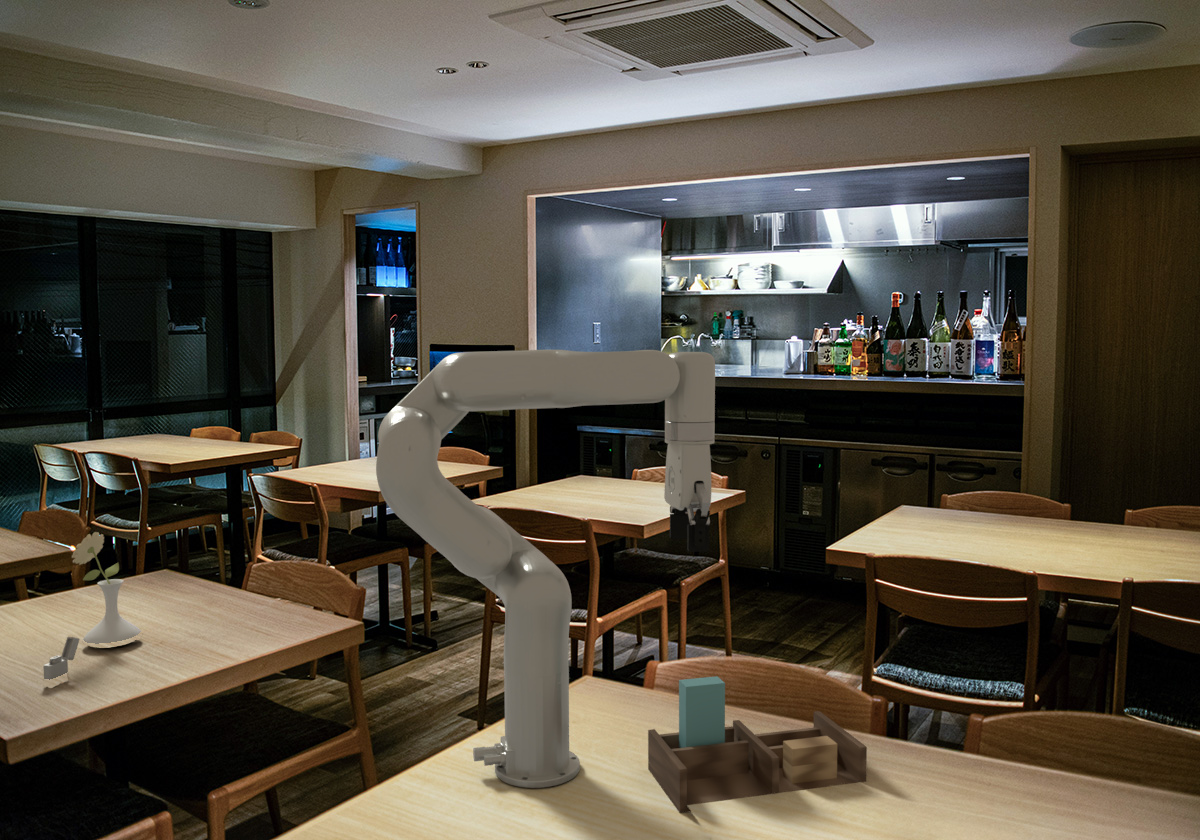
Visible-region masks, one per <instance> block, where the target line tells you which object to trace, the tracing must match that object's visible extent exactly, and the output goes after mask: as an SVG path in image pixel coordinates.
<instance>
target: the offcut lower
mask: <svg viewBox="0 0 1200 840" xmlns="http://www.w3.org/2000/svg"><path fill="white" fill-rule="evenodd" d="M783 775H784V776H785V777H786V778H787V779H788V780H789V781H790V782H791V783H792V784H794V783H802V782H810V781H817V780H825V779H833V778H837V761H833V762H825V763H817V764H809V765H801V766H793V767H792V766H791V765H790V764H789V763H788V762H787V761H786V760H785V759H784V758H783Z"/></svg>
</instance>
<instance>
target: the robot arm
mask: <svg viewBox="0 0 1200 840" xmlns="http://www.w3.org/2000/svg"><path fill="white" fill-rule="evenodd" d="M715 391H716V360H715V358H714V356H713V354H711V353H709V352H705V351H676V352H672V353H666V352H664V351H662V350H658V349H657V350H656V349H642V350H638V349H637V350H630V351H629V350H628V351H621V350H620V351H577V350H576V351H575V350H567V349H529V350H528V349H527V350H497V351H495V350H494V351H492V350H491V351H463V352H461V351H460V352H455V353H451V354H449V355H447V356H445V357H444V358H443V359H442V360H440V362H438V364H436V365H435V367H433V369H432V370H431V371H430V372H429V373H428V374H427V375H426V376H425V377H424V378H423V379H422V380H421V381H420V382H419V383H418V384H417V385H416V386H414V387H413V389H412V390H411V391H410V392H408V393H407V394H406V395H405V396H404V397H403V398H402V399H401V400H400V401H399V402H397V404H396V405H395V406H394V407H393V408H392V409H391V410H390V411H389V412H387V414H385V416H384V418H383V419H382V421H381V423H380V425H379V428H378V434H377V435H378V436H377V437H378V447H377V453H376V462H375V463H376V464H375V473H376V475H375V476H376V480H377V484H378V488H379V491H380V493H381V496H382V497H383V499H384V501H385V503H386V504H387V506H388V507H389V508H390V509H391V511H392V512H393V513H394V514H395V515H396V516H397V518H399V519H400V520H401V521H402V522H404V523H405V524H406V526H408V527H409V528H411V529H412V530H413V531H414V532H415V533H416V534H418V535H419V536H420V537H421V538H422V539H423V540H424V541H425V542H426V543H428V544H429V546H431V547H432V548H433V549H434V550H436V551H437V552H438V553H439V554H440V555H442V556H443V557H445V559H446V560H448V561H449V562H450V563H451V564H452V565H453V566H454V568H456V569H457V570H458V571H459V572H460V573H462V574H464V575H465V576H467V577H470V578H473V579H476V580H478V582H480V583H481V584H482V585H483V586H485V587H486V588H487V589H489V590H490V591H491V592H492V593H494V594H495V595H496V596H497V597H498V598H499V599H500V600H501V601H502V604H503V605H504V611H505V612H504V614H505V617H504V619H505V621H504V635H503V669H504V670H503V673H504V674H503V675H504V678H503V680H504V683H503V684H504V688H503V689H504V735H502V736H500V742H498V743H497V742H496V743H494V745H493V746H478V747H473V750H472V753H473V761H474V762H481V761H483V765H484V766H485V767H486V766H493V765H494V773H495V776H496V777H497V778H498V779H499V780H501V781H502V782H504V783H506V784H507V785H509V786H515V787H520V788H526V789H529V788H530V789H541V788H550V787H553V786H559V785H561V784H562V785H563V784H565V783H566V782H568V781H571V780H573V779H574V778H575V777H576V776H577V775H578V774H579V773H580V767H581V766H580V765H581V762H580V759H579V757H578V755H576V754H575V753H574V752H572V751H571V750H570V691H569V690H570V680H569V679H570V673H569V672H570V665H569V639H570V638H569V634H570V626H571V625H570V623H571V617H572V616H571V615H572V603H573V602H572V593H571V588H570V585H569V581H568V580H567V578H566V576H565V574H564V573H563V572H562V570H561V569H560V568H559V567H558V566H557V565H556V564H555V563H554V562H553V561H552V560H550V558H549V557H547V556H546V555H545V554H544V553H543V552H542V551H541V550H539V549H538V548H537V547H536V546H534V545H533V544H532V543H531V542H530V541H528V540H527V539H526V538H525V537H524V536H522V535H521V534H520V533H519V532H517V531H516V529H514V528H513V527H512V526H511V525H509V523H507V522H506V521H505V520H503V518H501V517H500V516H499V515H497V514H496V513H495V512H493V511H492V510H491V509H489V508H487V507H485V506H482V505H477V504H476V502H475V501H473V500H471V498H469V497H468V496H467V495H465V494H464V493H463V492H462V491H461V490H460V489H459V488H458V486H456V485H454V484H453V483H452V482H451V481H450V480H448V478H446V477H445V476H444V475H443V473H442V471H441V470H440V467H439V464H438V463H439V462H438V458H439V457H438V455H439V453H440V449H441V444H442V440H443V439H444V438H445V437H446V436H447V435H448V434H449V433H450V432H451V431H452V430H453V429H454V428H455V427H456V426H457V425H458V424H459V423H460V422H461V421H462V420H463V419H464V417H466V416H467V414H469V412H488V411H502V410H503V411H505V410H507V411H509V410H510V411H511V410H527V409H528V410H531V409H532V410H536V409H556V408H557V409H565V408H573V407H574V408H575V407H576V408H577V407H582V406H583V407H584V406H606V405H607V406H609V405H634V404H655V403H660V402H663V401H664V443H666V444H667V449H666V457H665V458H666V459H665V471H664V472H665V473H664V474H665V477H664V501H665V502H666V503H667V504H668V505H669V538H670V539H671V540H686V541H687V543H686V544H687V547H686V548H687V551H688V552H689V553H699V552H709V550H710V524H711V520H710V516H711V513H710V512H711V510H710V507H711V503H712V462H711V447H710V445H712V444H715V435H716V434H715V428H716V427H715V426H716V425H715V418H716V416H715V415H716V414H715V413H716V410H715V409H716V407H715V406H716V405H715V404H716V400H715V399H716V394H715V393H716V392H715Z"/></svg>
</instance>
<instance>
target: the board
mask: <svg viewBox="0 0 1200 840" xmlns="http://www.w3.org/2000/svg"><path fill="white" fill-rule="evenodd" d="M725 723H726V682H724V681H723V680H722V679H721V678H720V677H719V676H706V677H696V678H686V679H679V680H678V732H679V748H685V747H694V746H702V745H711V744H719V743H725V727H726V724H725Z"/></svg>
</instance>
